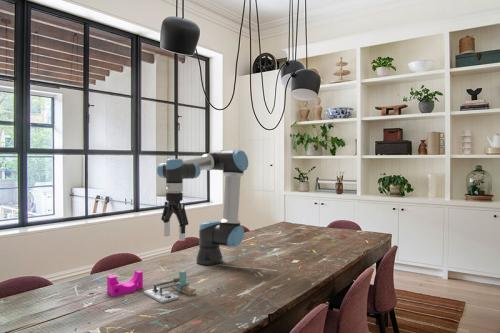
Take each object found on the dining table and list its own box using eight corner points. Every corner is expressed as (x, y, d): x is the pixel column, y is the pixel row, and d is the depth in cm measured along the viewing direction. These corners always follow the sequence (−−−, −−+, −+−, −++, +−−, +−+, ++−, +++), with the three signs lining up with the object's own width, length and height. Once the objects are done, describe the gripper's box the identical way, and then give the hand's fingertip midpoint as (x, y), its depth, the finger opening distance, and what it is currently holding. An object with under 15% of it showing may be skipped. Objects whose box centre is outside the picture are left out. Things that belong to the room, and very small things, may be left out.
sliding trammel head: (185, 287, 175) (185, 269, 175) (189, 289, 173) (189, 270, 172) (158, 294, 165) (158, 275, 165) (161, 296, 163) (161, 276, 163)
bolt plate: (159, 289, 173) (159, 286, 173) (178, 299, 161) (178, 295, 161) (143, 293, 168) (143, 290, 168) (161, 303, 156) (161, 300, 156)
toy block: (112, 296, 164) (112, 279, 164) (107, 293, 169) (107, 276, 169) (145, 289, 174) (145, 273, 174) (139, 286, 179) (139, 270, 179)
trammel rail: (176, 285, 179) (176, 276, 179) (195, 294, 167) (195, 284, 167) (150, 291, 170) (150, 281, 170) (169, 301, 158) (169, 290, 158)
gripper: (154, 191, 183) (154, 235, 183) (181, 194, 164) (181, 243, 164) (168, 190, 188) (168, 233, 188) (196, 193, 169) (196, 241, 169)
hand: (174, 238), depth 176 cm, fingers open, 13 cm apart
